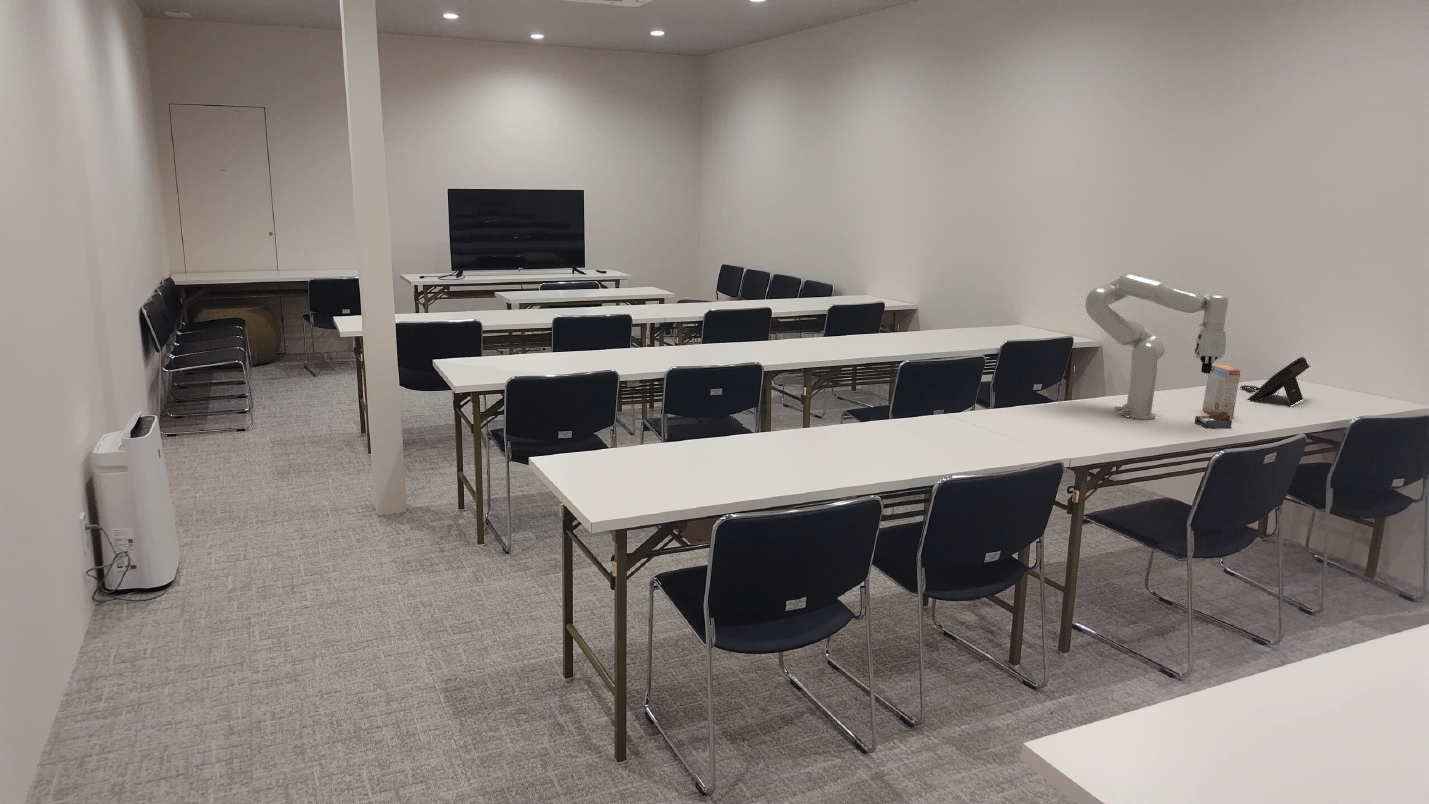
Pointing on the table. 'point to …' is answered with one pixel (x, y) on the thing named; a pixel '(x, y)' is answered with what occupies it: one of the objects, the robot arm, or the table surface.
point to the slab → (1218, 414)
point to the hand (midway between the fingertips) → (1205, 372)
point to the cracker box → (1221, 388)
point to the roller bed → (1213, 422)
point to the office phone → (1282, 382)
